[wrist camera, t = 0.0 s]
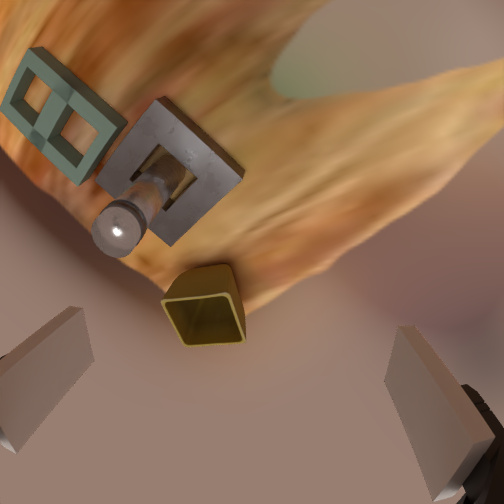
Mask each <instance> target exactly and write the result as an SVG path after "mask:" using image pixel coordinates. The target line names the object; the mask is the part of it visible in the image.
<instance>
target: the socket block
mask: <svg viewBox="0 0 504 504" xmlns="http://www.w3.org/2000/svg"><path fill="white" fill-rule="evenodd" d="M160 144H161V145H162V146H163V147H164V148H165V149H166V150H167V151H168V152H169V153H171V154H172V155H173V156H174V157H175V158H176V159H177V160H178V161H179V162H180V163H182V164H183V165H184V166H185V167H186V168H187V169H188V170H189V171H190V172H191V173H193V174H194V175H195V176H196V178H195V179H194V180H193V181H192V182H191V183H190V184H189V185H188V186H187V187H186V188H185V189H184V190H183V191H182V193H181V194H180V195H179V196H178V197H177V198H176V199H175V200H174V201H172V200H171V199H170V198H169V199H168V200H167V201H166V203H165V204H164V206H163V207H162V208H161V210H160V211H159V213H158V214H157V215H156V217H155V218H154V220H153V221H152V222H151V224H150V225H149V227H148V228H149V229H150V230H151V231H152V232H153V233H155V234H156V235H157V236H158V237H159V238H160V239H162V240H163V241H164V242H165V243H166V244H168V245H169V246H170V247H171V246H172V245H173V244H174V243H175V242H176V241H177V240H178V239H179V238H180V237H181V236H183V235H184V234H185V233H186V232H187V231H188V230H189V229H190V228H191V227H192V226H193V225H194V224H195V223H196V222H197V221H198V220H199V219H200V218H201V217H202V216H203V215H205V214H206V213H207V212H208V211H209V210H210V209H211V208H212V207H213V206H214V205H215V204H216V203H217V202H218V201H220V200H221V199H222V198H223V197H224V196H225V195H226V194H227V193H228V192H229V191H230V190H231V189H233V188H234V187H235V186H236V185H237V184H238V183H239V182H240V181H241V180H243V177H244V173H245V170H244V169H243V168H242V167H241V166H240V165H239V164H238V163H237V162H236V161H235V160H234V159H233V158H232V157H231V156H230V155H228V154H227V153H226V152H225V151H224V150H223V149H222V148H221V147H220V146H219V145H218V144H217V143H216V142H215V141H214V140H213V139H212V138H210V137H209V136H208V135H207V134H206V133H205V132H204V131H203V130H202V129H201V128H200V127H199V126H197V125H196V124H195V123H194V122H193V121H192V120H191V119H190V118H189V117H188V116H187V115H185V114H184V113H183V112H182V111H181V110H180V109H179V108H178V107H177V106H175V105H174V104H173V103H172V102H171V101H170V100H169V99H168V98H166V97H165V96H164V97H161V98H158V99H155V101H154V102H153V103H152V104H151V105H150V107H149V108H148V109H147V110H146V111H145V113H144V114H143V115H142V116H141V118H140V119H139V120H138V121H137V123H136V124H135V125H134V126H133V128H132V129H131V130H130V132H129V133H128V134H127V136H126V137H125V138H124V140H123V141H122V142H121V144H120V145H119V146H118V148H117V149H116V150H115V152H114V153H113V155H112V156H111V157H110V159H109V160H108V162H107V163H106V164H105V166H104V167H103V169H102V170H101V172H100V173H99V175H98V176H97V178H96V179H95V182H97V183H98V184H99V185H100V186H101V187H102V188H103V189H104V190H105V191H107V192H108V193H109V194H110V195H111V196H112V197H113V198H114V199H116V198H117V197H118V196H119V195H120V194H121V193H122V192H123V191H124V190H125V189H126V188H127V187H128V186H129V185H131V184H132V183H133V182H134V181H135V180H136V179H137V178H138V177H139V176H140V175H141V174H142V173H140V172H139V170H140V168H141V167H142V166H143V165H144V163H145V162H146V161H147V160H148V159H149V157H150V156H151V155H152V154H153V153H154V151H155V150H156V149H157V148H158V147H159V146H160Z"/></svg>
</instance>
